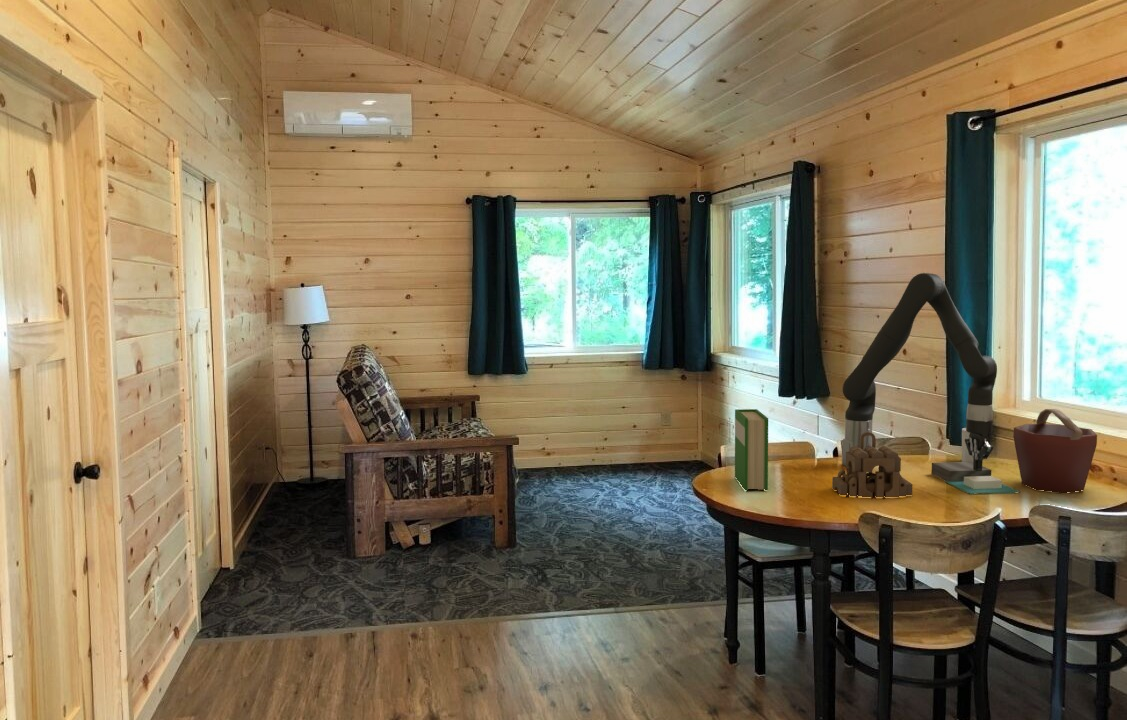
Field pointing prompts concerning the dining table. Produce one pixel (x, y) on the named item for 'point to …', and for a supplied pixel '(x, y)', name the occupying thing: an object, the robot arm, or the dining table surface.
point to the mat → (970, 490)
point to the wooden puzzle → (861, 462)
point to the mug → (965, 447)
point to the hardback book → (751, 449)
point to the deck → (957, 471)
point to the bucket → (1054, 453)
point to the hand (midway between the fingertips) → (977, 470)
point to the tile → (982, 482)
